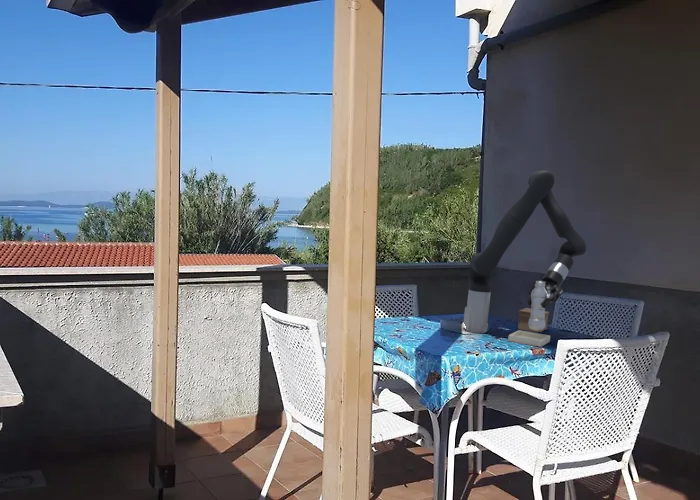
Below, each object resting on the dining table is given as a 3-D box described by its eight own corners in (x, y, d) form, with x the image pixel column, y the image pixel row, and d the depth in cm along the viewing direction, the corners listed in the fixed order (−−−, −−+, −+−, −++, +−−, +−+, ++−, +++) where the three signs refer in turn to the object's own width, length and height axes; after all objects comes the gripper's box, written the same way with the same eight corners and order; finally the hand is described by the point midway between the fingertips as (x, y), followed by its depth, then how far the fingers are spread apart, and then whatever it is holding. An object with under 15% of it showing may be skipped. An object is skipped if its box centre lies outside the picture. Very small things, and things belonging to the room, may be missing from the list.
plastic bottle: (547, 332, 271) (552, 282, 270) (533, 331, 269) (538, 282, 268) (538, 328, 277) (543, 280, 276) (524, 328, 275) (529, 280, 274)
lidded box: (540, 333, 296) (543, 312, 296) (516, 328, 302) (518, 308, 301) (547, 329, 308) (549, 309, 307) (523, 325, 313) (526, 305, 312)
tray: (540, 347, 264) (541, 341, 264) (508, 341, 270) (508, 335, 270) (549, 341, 278) (550, 335, 278) (518, 335, 284) (519, 330, 284)
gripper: (537, 267, 282) (517, 296, 275) (568, 271, 271) (548, 302, 264) (543, 279, 286) (524, 308, 279) (573, 284, 275) (554, 315, 268)
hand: (536, 305), depth 271 cm, fingers closed on plastic bottle, 6 cm apart
